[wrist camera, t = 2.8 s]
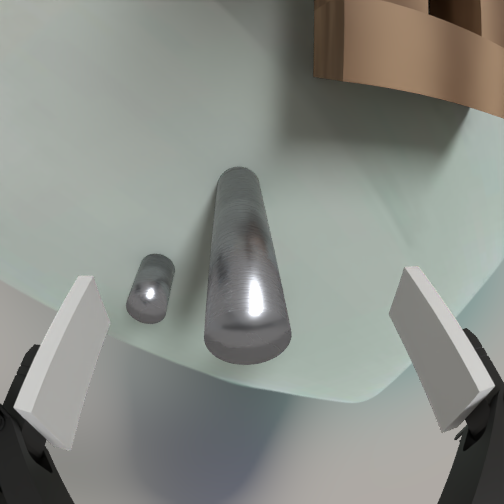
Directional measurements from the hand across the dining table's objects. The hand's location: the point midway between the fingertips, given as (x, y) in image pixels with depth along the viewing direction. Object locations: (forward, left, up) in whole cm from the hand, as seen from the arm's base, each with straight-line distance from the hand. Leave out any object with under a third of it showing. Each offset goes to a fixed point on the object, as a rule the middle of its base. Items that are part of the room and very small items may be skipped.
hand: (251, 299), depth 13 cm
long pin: (0, 0, -12) cm, 12 cm away
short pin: (-7, -7, -12) cm, 15 cm away
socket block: (+12, +15, -12) cm, 23 cm away
